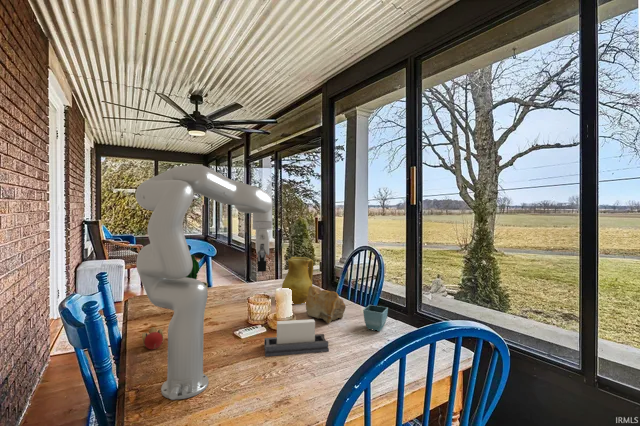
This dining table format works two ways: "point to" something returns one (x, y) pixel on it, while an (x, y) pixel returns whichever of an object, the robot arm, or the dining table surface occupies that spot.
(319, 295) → the rough brown rock
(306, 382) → the dining table surface
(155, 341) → the kendama
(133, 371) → the dining table surface
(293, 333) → the door panel
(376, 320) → the flower pot
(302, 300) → the pitcher
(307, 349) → the floor track
